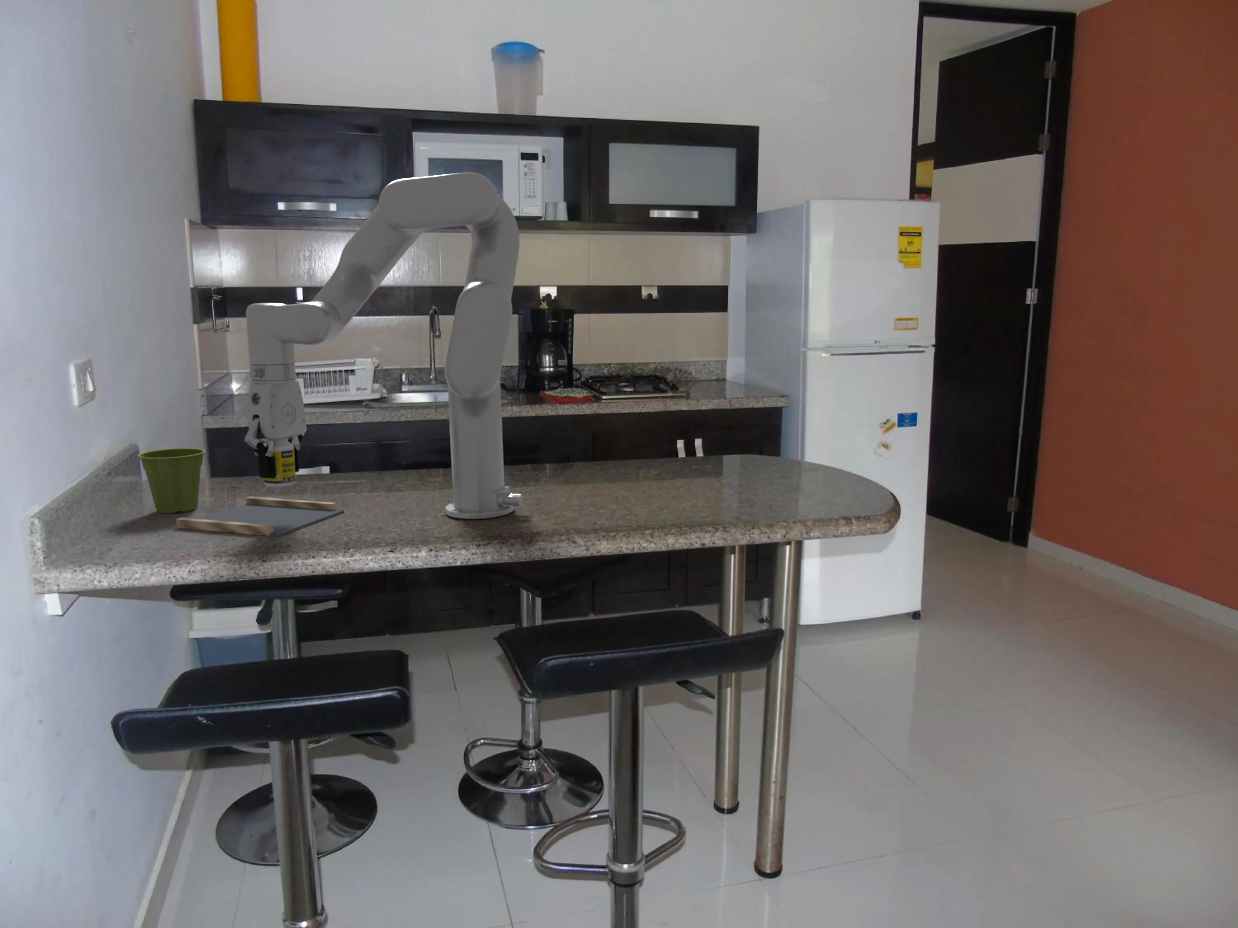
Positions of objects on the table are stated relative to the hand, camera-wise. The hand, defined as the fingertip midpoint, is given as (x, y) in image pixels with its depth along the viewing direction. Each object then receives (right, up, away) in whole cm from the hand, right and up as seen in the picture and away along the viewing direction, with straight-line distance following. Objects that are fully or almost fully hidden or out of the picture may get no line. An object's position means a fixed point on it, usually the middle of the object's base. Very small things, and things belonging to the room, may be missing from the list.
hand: (279, 473), depth 166 cm
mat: (-4, -8, +3) cm, 10 cm away
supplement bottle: (0, -2, 0) cm, 2 cm away
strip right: (-2, -7, +12) cm, 14 cm away
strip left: (-8, -10, -4) cm, 14 cm away
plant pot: (-24, -7, +12) cm, 28 cm away
